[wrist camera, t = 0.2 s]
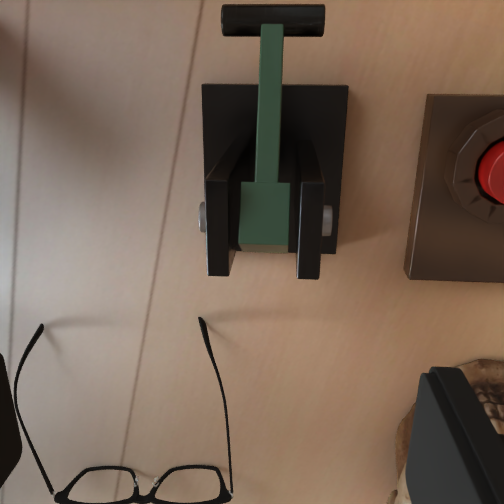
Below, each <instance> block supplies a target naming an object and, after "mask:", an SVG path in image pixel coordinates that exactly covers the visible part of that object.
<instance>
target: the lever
mask: <svg viewBox="0 0 504 504" xmlns="http://www.w3.org/2000/svg"><path fill="white" fill-rule="evenodd" d="M324 27H325V5H324V4H224V5H222V9H221V28H222V34H223V36H230V37H261V41H260V64H259V88H258V111H257V135H256V158H255V182H241V193H240V214H239V236H238V244H239V245H240V247H241V249H242V251H243V252H263V253H288V247H289V221H290V189H291V184H290V183H279V160H280V131H281V102H282V74H283V45H284V37H322V36H323V34H324Z"/></svg>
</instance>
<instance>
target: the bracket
mask: <svg viewBox="0 0 504 504" xmlns="http://www.w3.org/2000/svg"><path fill="white" fill-rule="evenodd" d="M258 88H259V84H212V83H205V84H202V115H203V148H204V189H205V202H202V203H201V204H200V208H199V229H200V231H201V232H206V254H207V275H208V276H229V274H230V271H231V267H232V264H233V260H234V257H235V253H236V251H242V249H241V247H240V245H239V244H238V236H239V214H240V193H241V182H255V158H256V135H257V111H258ZM348 88H349V86H348V85H317V84H282V102H281V131H280V160H279V183H290V184H291V189H290V221H289V247H288V253H296V272H297V278H298V279H315V280H317V279H319V276H320V260H321V254H336V245H337V232H338V219H339V206H340V193H341V180H342V167H343V153H344V140H345V127H346V114H347V101H348Z"/></svg>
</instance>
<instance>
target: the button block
mask: <svg viewBox="0 0 504 504" xmlns="http://www.w3.org/2000/svg"><path fill="white" fill-rule="evenodd" d="M501 141H504V95H468V94H427V99H426V106H425V114H424V121H423V128H422V136H421V143H420V151H419V158H418V166H417V173H416V181H415V188H414V196H413V203H412V211H411V218H410V226H409V233H408V241H407V248H406V256H405V263H404V271H405V273H406V275H407V277H408V278H409V279H410V280H437V281H465V282H493V283H504V204H503V203H501V202H499V201H498V200H496V199H495V198H493V197H492V196H490V195H489V194H487V193H486V192H485V191H484V190H483V188H482V187H481V185H480V183H479V179H478V169H479V165H480V162H481V160H482V158H483V157H484V155H485V154H486V153H487V151H488V150H489V149H490V148H492V147H493V146H494V145H496V144H497V143H499V142H501Z"/></svg>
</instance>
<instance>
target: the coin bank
mask: <svg viewBox="0 0 504 504" xmlns="http://www.w3.org/2000/svg"><path fill="white" fill-rule="evenodd" d="M455 368H460V369H461V370H462V371H463V373H464V375H465V377H466V378H467V380H468V382H469V384H470V385H471V387H472V389H473V391H474V392H475V394H476V396H477V398H478V399H479V401H480V403H481V405H482V406H483V408H484V410H485V412H486V413H487V415H488V417H489V419H490V420H491V422H492V424H493V426H494V427H495V429H496V431H497V433H498V434H504V362H501V361H494V360H487V359H478V360H476V361H473V362H470V363H468V364H465V365H460V366H457V367H455ZM415 406H416V403H415V404H414V405H413V407H412V409H411V411H410V412H409V413H408V414H407V416H406V417H405V418H404V419H403V420H402V422H401V424H400V425H399V427H398V431H397V435H396V443H395V448H396V467H397V488H398V490H395V491H393V492H392V493H391V494H390V496H389V498H388V502H387V504H411V500H410V496H409V493H408V489H407V485H406V478H405V469H406V462H407V456H408V450H409V443H410V437H411V431H412V425H413V419H414V412H415Z"/></svg>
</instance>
